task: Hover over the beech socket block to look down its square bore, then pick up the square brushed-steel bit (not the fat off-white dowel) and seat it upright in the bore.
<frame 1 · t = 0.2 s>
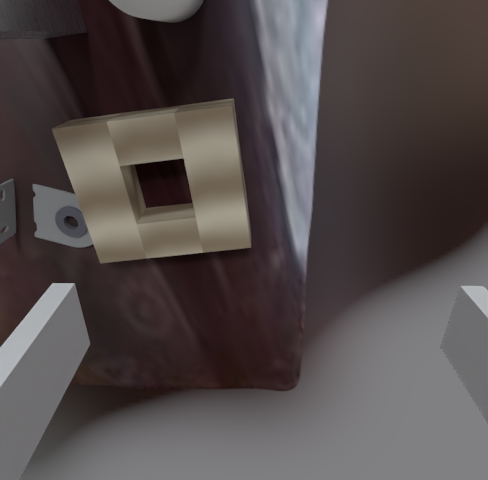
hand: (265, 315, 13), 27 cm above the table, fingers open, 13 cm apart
steel bit: (56, 9, 32), on the table
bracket: (54, 210, 42), on the table
socket block: (167, 178, 39), on the table
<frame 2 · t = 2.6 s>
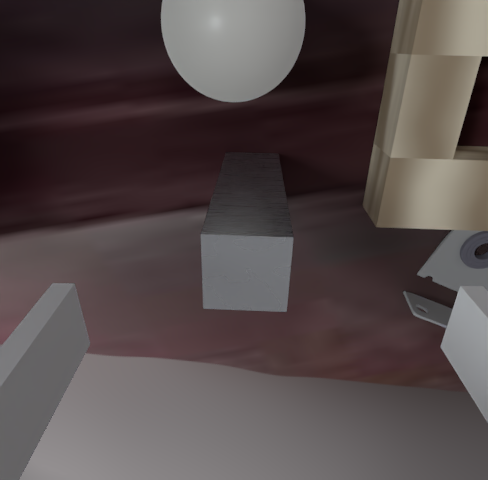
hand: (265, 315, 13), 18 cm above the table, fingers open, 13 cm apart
steel bit: (251, 178, 30), on the table
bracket: (456, 264, 33), on the table
plastic dowel: (240, 32, 25), on the table
socket block: (481, 103, 26), on the table
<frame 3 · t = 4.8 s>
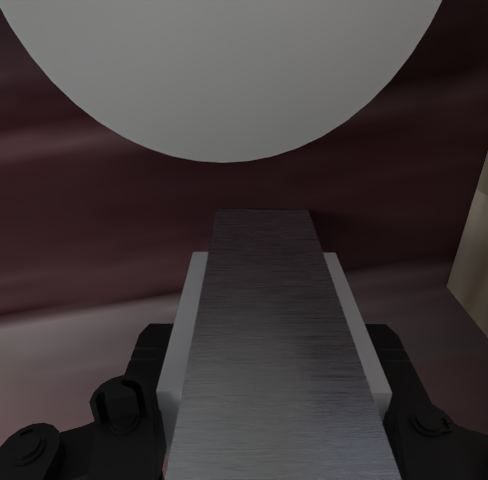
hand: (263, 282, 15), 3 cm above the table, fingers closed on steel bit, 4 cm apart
steel bit: (261, 249, 17), on the table, touching gripper
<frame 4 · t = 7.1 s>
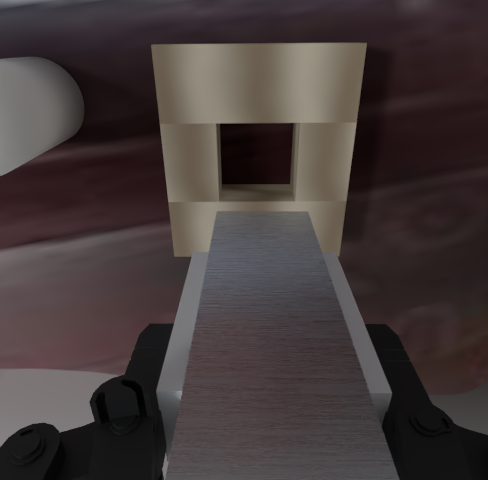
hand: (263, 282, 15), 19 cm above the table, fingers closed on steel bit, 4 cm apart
steel bit: (261, 250, 17), point 16 cm above the table, touching gripper
plastic dowel: (43, 101, 30), on the table
socket block: (256, 150, 32), on the table
when the fingers open (5 cm above the table, at t = 9.3 s): steel bit drops 2 cm, resting in socket block.
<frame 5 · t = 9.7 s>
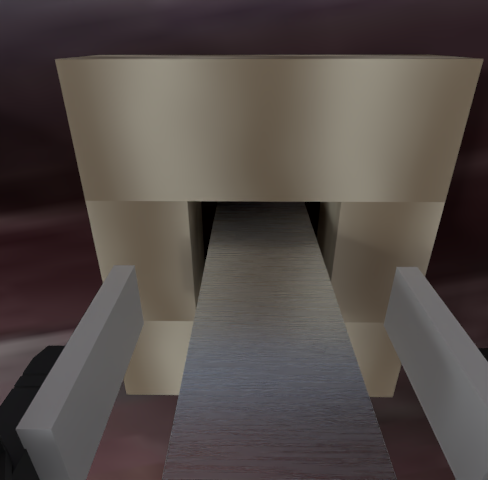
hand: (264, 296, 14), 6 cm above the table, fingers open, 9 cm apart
steel bit: (259, 226, 20), resting in socket block
socket block: (260, 225, 20), on the table
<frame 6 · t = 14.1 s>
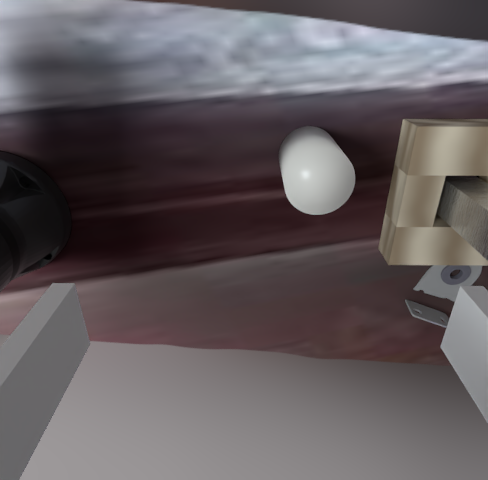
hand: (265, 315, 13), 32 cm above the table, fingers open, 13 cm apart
steel bit: (448, 189, 44), resting in socket block
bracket: (439, 281, 51), on the table
plastic dowel: (307, 155, 43), on the table
socket block: (449, 189, 44), on the table
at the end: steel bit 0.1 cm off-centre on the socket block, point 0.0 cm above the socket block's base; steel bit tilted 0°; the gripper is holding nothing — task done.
